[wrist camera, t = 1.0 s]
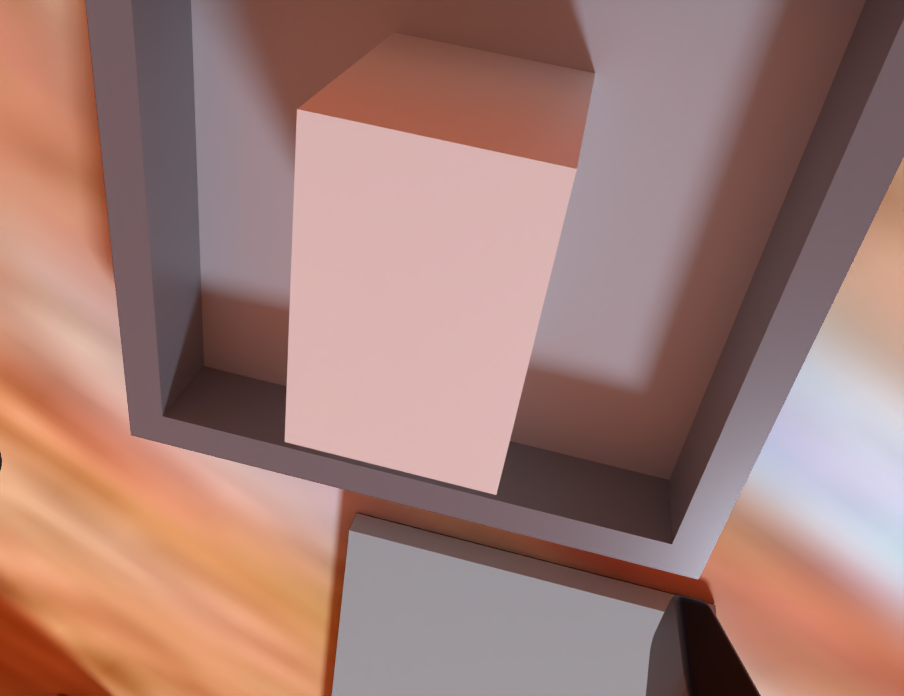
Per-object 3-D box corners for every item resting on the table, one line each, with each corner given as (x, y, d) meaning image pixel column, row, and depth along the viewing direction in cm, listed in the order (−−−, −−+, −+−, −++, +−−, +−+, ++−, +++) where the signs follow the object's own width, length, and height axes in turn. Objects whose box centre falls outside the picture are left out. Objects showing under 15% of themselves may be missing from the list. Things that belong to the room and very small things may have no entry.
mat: (715, 605, 26) (717, 625, 25) (617, 793, 32) (617, 813, 32) (356, 513, 27) (349, 530, 26) (333, 714, 33) (327, 732, 33)
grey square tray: (966, -119, 15) (1032, -110, 12) (692, 501, 24) (698, 579, 21) (147, -264, 16) (55, -282, 13) (181, 375, 25) (131, 435, 22)
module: (595, 73, 17) (576, 168, 12) (530, 340, 21) (496, 494, 16) (394, 32, 18) (296, 108, 13) (366, 301, 21) (284, 441, 17)
